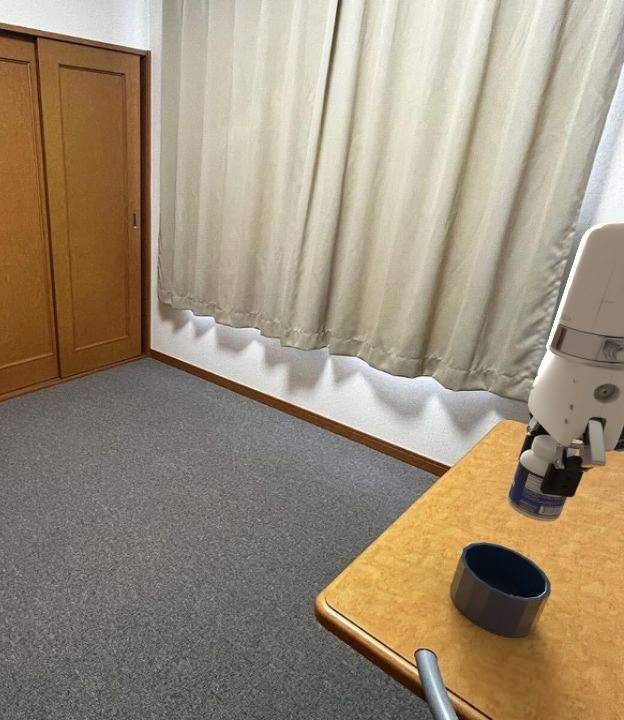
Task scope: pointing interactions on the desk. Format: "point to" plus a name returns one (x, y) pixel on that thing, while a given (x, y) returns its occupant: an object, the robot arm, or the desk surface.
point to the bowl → (499, 589)
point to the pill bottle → (536, 482)
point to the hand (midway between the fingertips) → (544, 476)
